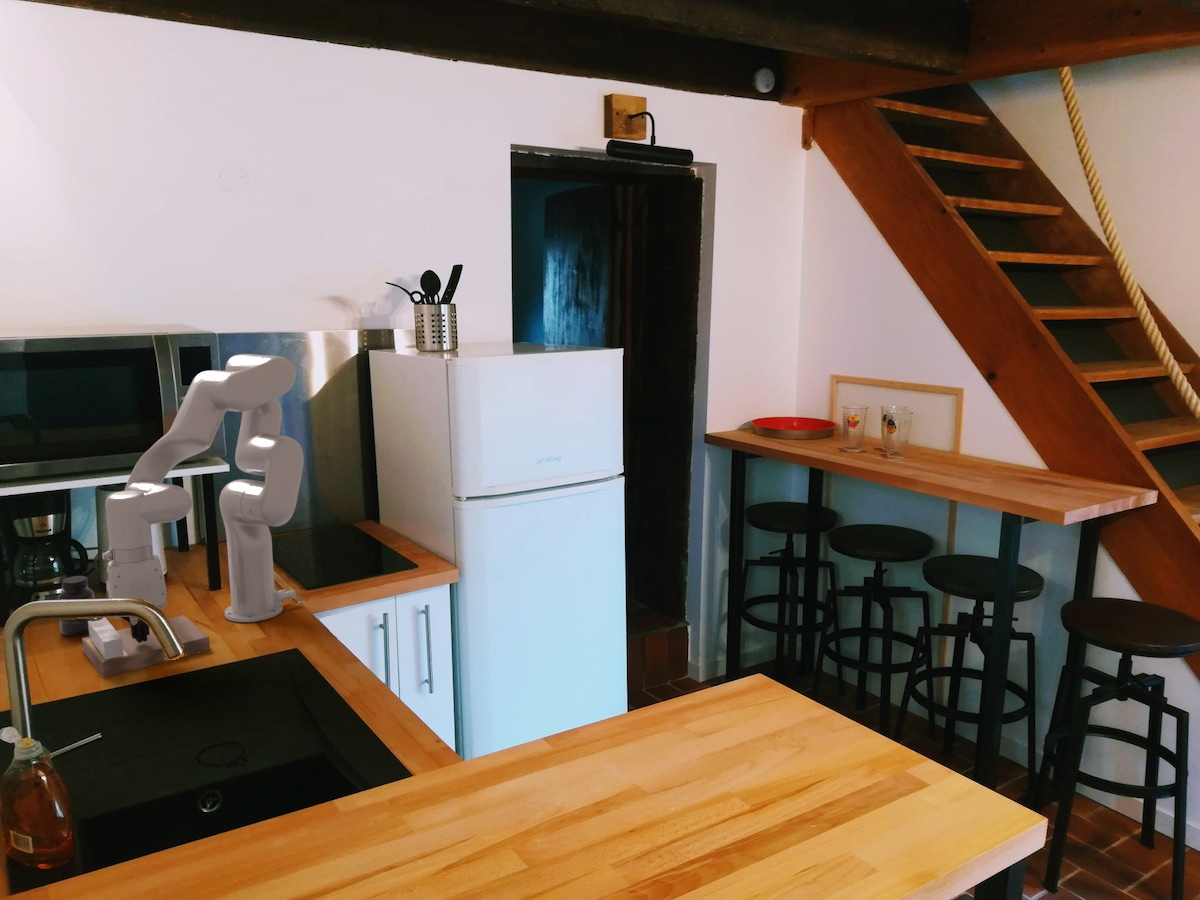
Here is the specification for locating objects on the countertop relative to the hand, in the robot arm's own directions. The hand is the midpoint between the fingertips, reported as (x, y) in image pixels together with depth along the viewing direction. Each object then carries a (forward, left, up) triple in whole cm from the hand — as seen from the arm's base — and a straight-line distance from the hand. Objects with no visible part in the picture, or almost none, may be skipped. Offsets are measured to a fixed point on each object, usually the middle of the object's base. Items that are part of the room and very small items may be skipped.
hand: (141, 639), depth 179 cm
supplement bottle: (+6, -25, -5) cm, 26 cm away
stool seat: (-2, -4, -4) cm, 6 cm away
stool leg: (+6, -3, -1) cm, 7 cm away
